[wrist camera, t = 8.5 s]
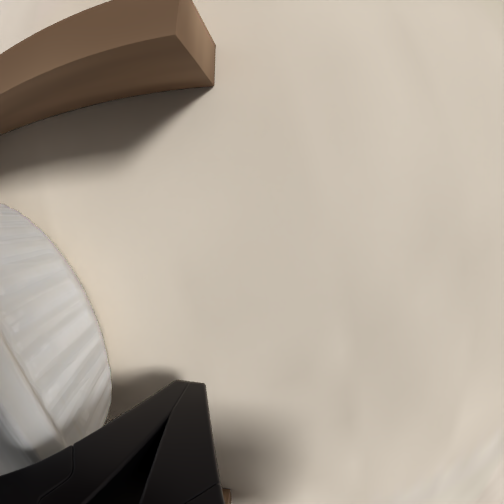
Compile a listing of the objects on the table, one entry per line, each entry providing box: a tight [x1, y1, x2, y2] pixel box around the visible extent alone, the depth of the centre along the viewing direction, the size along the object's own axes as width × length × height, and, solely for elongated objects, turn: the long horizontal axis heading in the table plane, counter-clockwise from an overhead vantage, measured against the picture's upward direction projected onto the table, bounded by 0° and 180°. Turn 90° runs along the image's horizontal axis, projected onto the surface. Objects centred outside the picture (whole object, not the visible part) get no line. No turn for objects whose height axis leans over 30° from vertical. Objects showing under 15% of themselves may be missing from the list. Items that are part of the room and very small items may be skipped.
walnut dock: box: [0, 0, 231, 504], centre depth 7 cm, size 17×15×3 cm
